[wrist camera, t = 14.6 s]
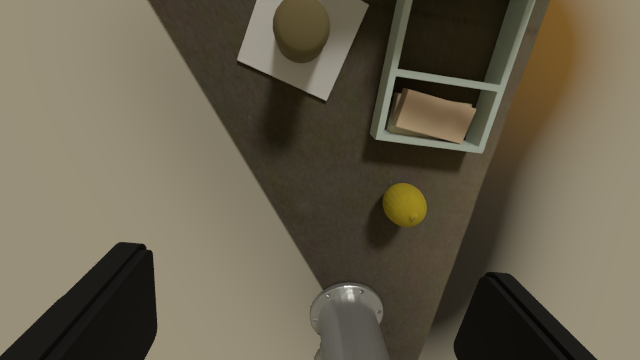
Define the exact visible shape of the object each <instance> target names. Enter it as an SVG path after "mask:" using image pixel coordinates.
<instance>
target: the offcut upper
mask: <svg viewBox="0 0 640 360" xmlns="http://www.w3.org/2000/svg"><path fill="white" fill-rule="evenodd" d="M475 112H476V108H472V107H469V106H465V105H462V104H458V103H455V102H451V101H448V100H444V99H441V98H438V97H434V96H431V95H427V94H424V93H420V92H417V91H413V90H410V89H405V88H403V90H402V93H401V96H400V99H399V102H398V105H397V108H396V111H395V114H394V116H393V119H392V122H391V124H393V125H394V126H396V127H400V128H403V129H407V130H411V131H415V132H418V133H422V134H426V135H430V136H434V137H437V138H441V139H445V140H449V141H452V142H456V143H460V144H462V141H463V139H464V137H465V135H466V132H467V130H468V128H469V125H470V123H471V121H472V119H473V116H474V114H475Z"/></svg>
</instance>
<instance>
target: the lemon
mask: <svg viewBox="0 0 640 360" xmlns="http://www.w3.org/2000/svg"><path fill="white" fill-rule="evenodd" d="M383 208H384V211H385V214H386V215H387V216H388V218H389V219H390V220H391V221H393V222H394V223H395V224H397V225H399V226H402V227H412V226H415V225H417V224H419V223H420V222H421V221H422V220H423V219H424V217H425V215H426V211H427V206H426V201H425V199H424V196H423V195H422V193H421V192H420V191H419V190H418V189H417V188H415V187H414V186H412V185H410V184H407V183H398V184H395V185H392V186H391V187H390V188H388V189H387V191H386V192H385V194H384V196H383Z"/></svg>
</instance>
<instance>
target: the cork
mask: <svg viewBox="0 0 640 360" xmlns="http://www.w3.org/2000/svg"><path fill="white" fill-rule="evenodd" d="M273 32H274V36H275V39H276V42H277V46H278V48H279V50H280V51H281V53H282V54H283V55H284V56H285V57H286V58H287V59H288V60H291V61H293V62H295V63H307V62H311V61H312V60H314V59H315V58H317V57H318V56H319V54H320V53H321V52H322V50H323V48H324V46H325V44H326V42H327V40H328V37H329V33H330V21H329V16H328V14H327V12H326V10H325V8H324V6H323V5H322V4H321V3H320V2H319V1H318V0H283V1H282V2H281V3H280V5H279V6H278V7H277V9H276V11H275V14H274V17H273Z"/></svg>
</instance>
